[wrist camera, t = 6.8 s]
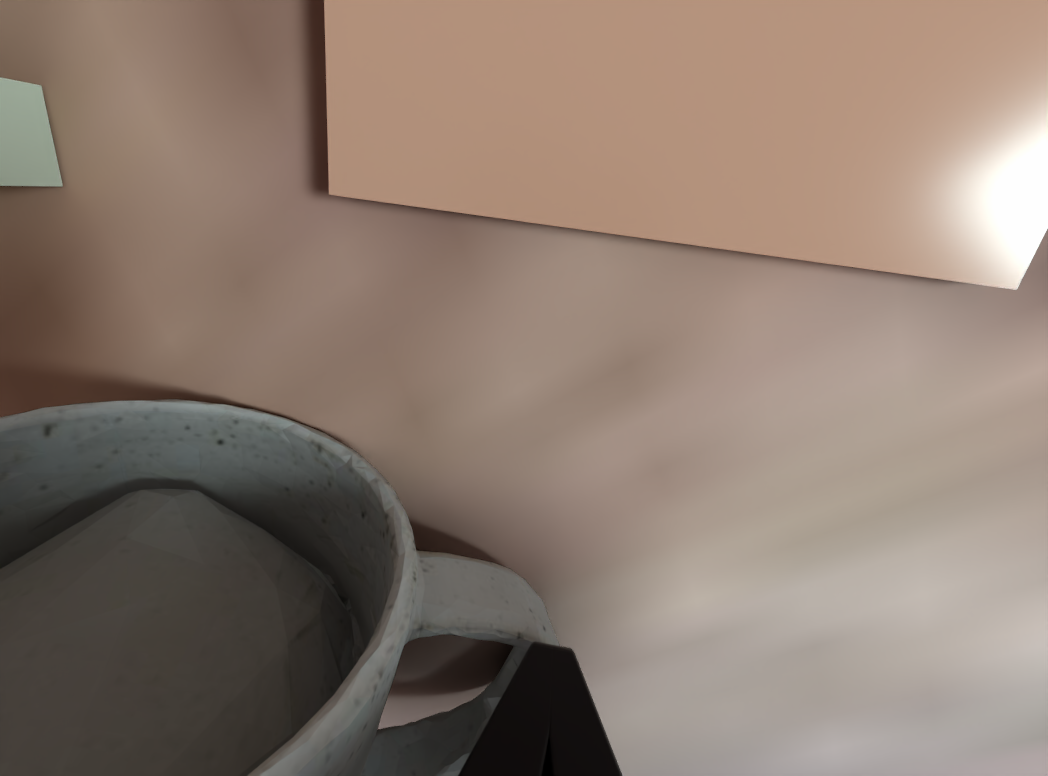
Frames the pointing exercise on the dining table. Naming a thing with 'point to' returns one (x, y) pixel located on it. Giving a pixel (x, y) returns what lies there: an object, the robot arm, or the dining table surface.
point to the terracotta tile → (709, 122)
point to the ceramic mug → (223, 600)
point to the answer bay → (25, 137)
